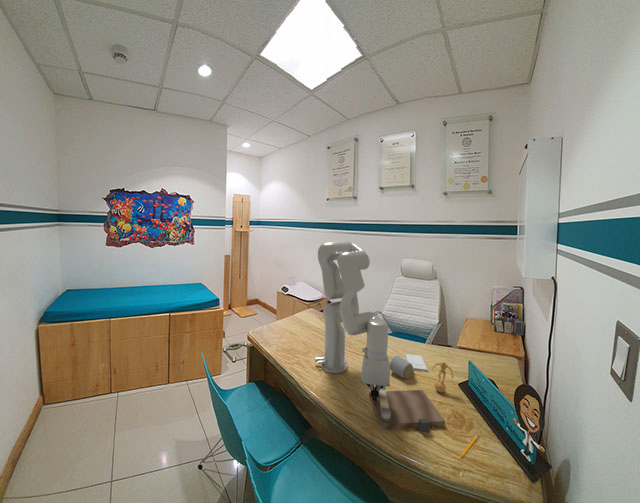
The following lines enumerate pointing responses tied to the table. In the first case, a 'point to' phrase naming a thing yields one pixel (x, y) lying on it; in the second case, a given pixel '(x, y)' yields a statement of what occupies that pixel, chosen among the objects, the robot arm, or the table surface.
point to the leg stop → (423, 425)
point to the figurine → (440, 385)
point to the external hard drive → (416, 362)
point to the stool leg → (384, 406)
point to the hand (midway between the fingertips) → (374, 398)
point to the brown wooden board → (408, 410)
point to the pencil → (469, 446)
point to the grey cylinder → (401, 367)
